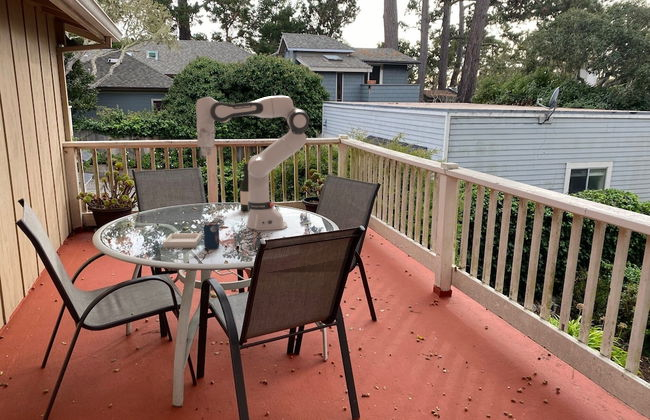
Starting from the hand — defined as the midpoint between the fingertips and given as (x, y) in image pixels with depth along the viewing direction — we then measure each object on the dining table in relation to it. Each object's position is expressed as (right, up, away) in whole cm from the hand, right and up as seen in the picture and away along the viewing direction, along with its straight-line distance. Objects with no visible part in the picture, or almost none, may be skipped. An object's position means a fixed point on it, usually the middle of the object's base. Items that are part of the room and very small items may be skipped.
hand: (206, 155), depth 258 cm
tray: (-7, -45, -18) cm, 49 cm away
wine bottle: (+13, -29, +56) cm, 64 cm away
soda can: (+9, -47, -25) cm, 53 cm away
